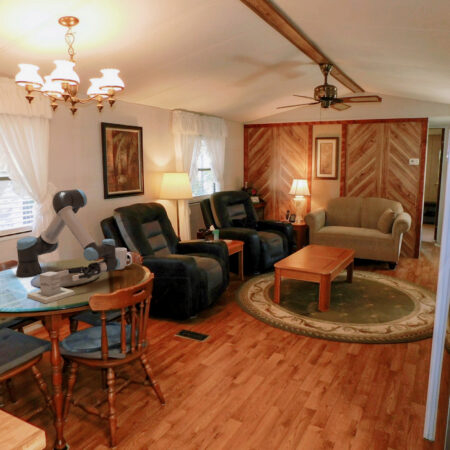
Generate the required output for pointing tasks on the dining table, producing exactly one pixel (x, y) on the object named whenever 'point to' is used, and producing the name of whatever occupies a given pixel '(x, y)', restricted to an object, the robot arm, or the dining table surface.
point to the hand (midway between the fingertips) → (65, 276)
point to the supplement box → (50, 283)
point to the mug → (122, 257)
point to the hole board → (45, 299)
